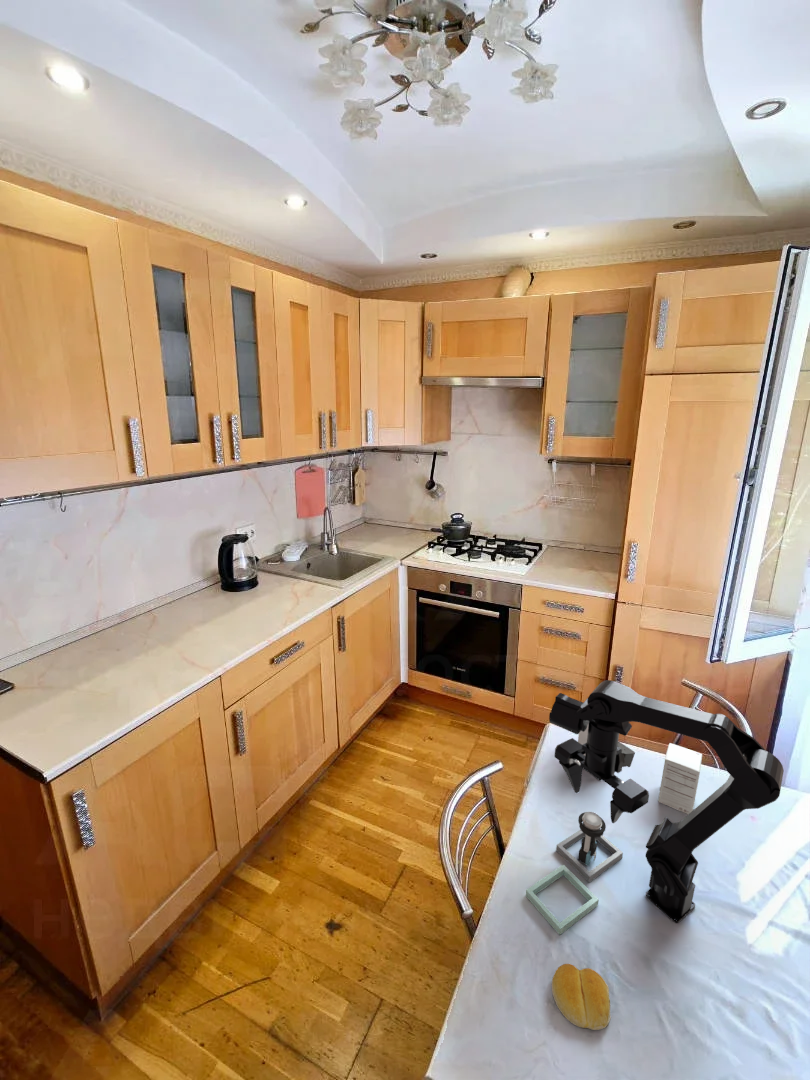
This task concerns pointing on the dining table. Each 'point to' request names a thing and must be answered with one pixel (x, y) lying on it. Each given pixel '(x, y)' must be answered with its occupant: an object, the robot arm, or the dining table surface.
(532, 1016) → the dining table surface
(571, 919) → the mint green frame
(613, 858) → the grey rectangular frame
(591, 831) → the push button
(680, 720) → the robot arm
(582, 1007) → the bread roll
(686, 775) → the supplement box
